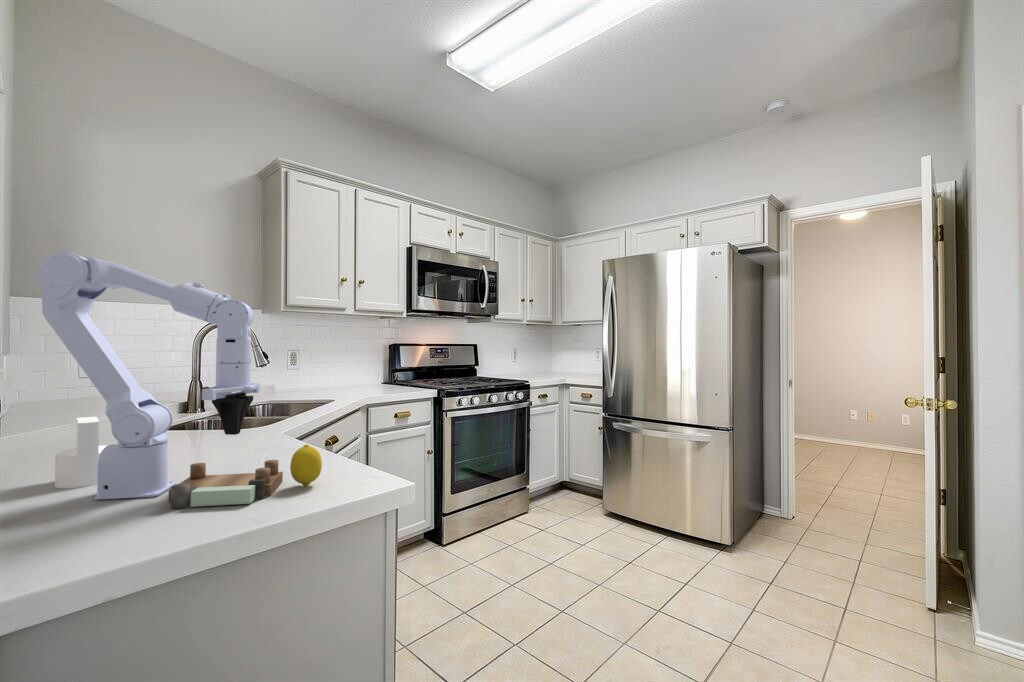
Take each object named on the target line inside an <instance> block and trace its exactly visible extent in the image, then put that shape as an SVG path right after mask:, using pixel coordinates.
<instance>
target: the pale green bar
mask: <svg viewBox="0 0 1024 682" xmlns="http://www.w3.org/2000/svg"><path fill="white" fill-rule="evenodd" d="M254 499H255V485H245V486H223V487H201V488H196V489H195V490H193V491H192V492H191V505H190V507H191V508H192V507H207V506H208V507H210V506H224V505H225V506H226V505H247V504H250V505H251V503H253V501H255V500H254Z"/></svg>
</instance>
